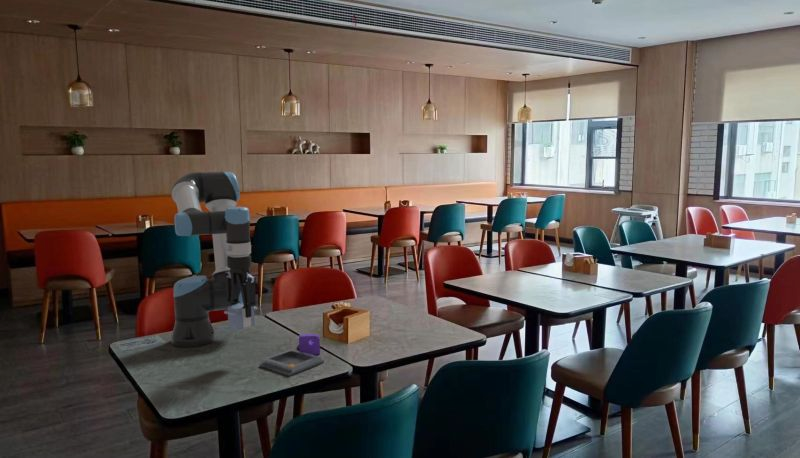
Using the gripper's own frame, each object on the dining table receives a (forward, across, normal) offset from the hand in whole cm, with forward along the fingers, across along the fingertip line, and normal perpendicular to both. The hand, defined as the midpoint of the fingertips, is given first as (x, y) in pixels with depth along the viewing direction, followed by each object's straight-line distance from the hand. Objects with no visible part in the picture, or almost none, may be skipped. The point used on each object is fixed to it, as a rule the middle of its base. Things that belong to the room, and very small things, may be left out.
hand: (241, 325), depth 197 cm
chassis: (+12, +16, +7) cm, 21 cm away
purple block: (+13, +9, +21) cm, 26 cm away
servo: (0, 0, 0) cm, 1 cm away
